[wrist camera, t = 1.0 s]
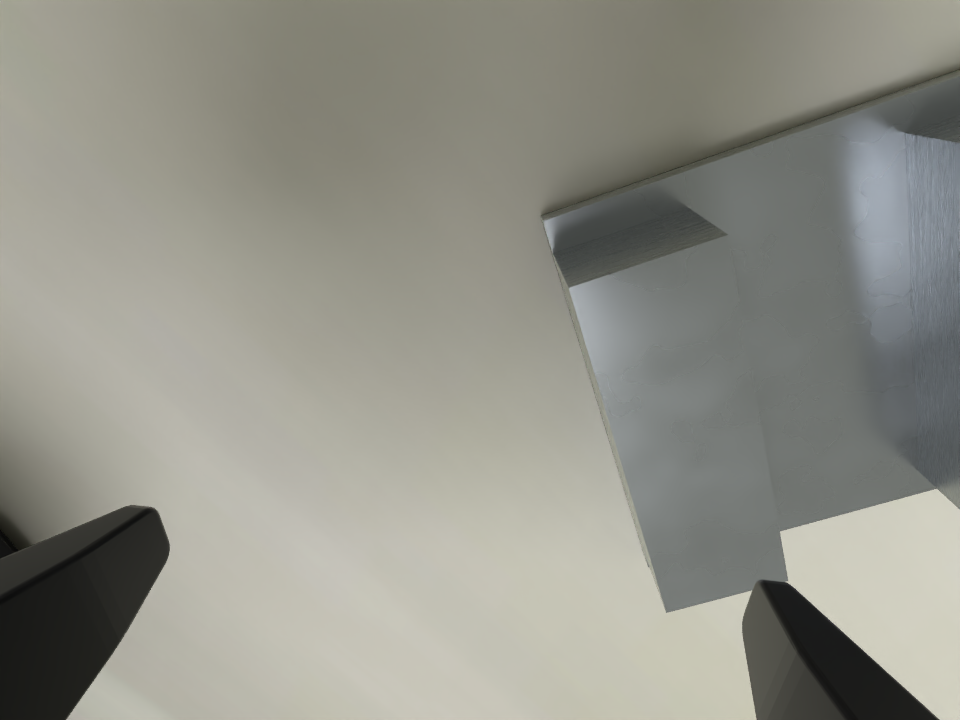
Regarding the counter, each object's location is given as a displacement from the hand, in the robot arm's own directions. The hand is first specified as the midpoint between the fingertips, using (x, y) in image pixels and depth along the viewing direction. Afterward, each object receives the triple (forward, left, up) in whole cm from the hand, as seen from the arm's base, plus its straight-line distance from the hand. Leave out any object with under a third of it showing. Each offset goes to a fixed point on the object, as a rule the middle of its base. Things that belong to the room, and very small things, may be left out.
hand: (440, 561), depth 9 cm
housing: (+10, -6, -11) cm, 16 cm away
